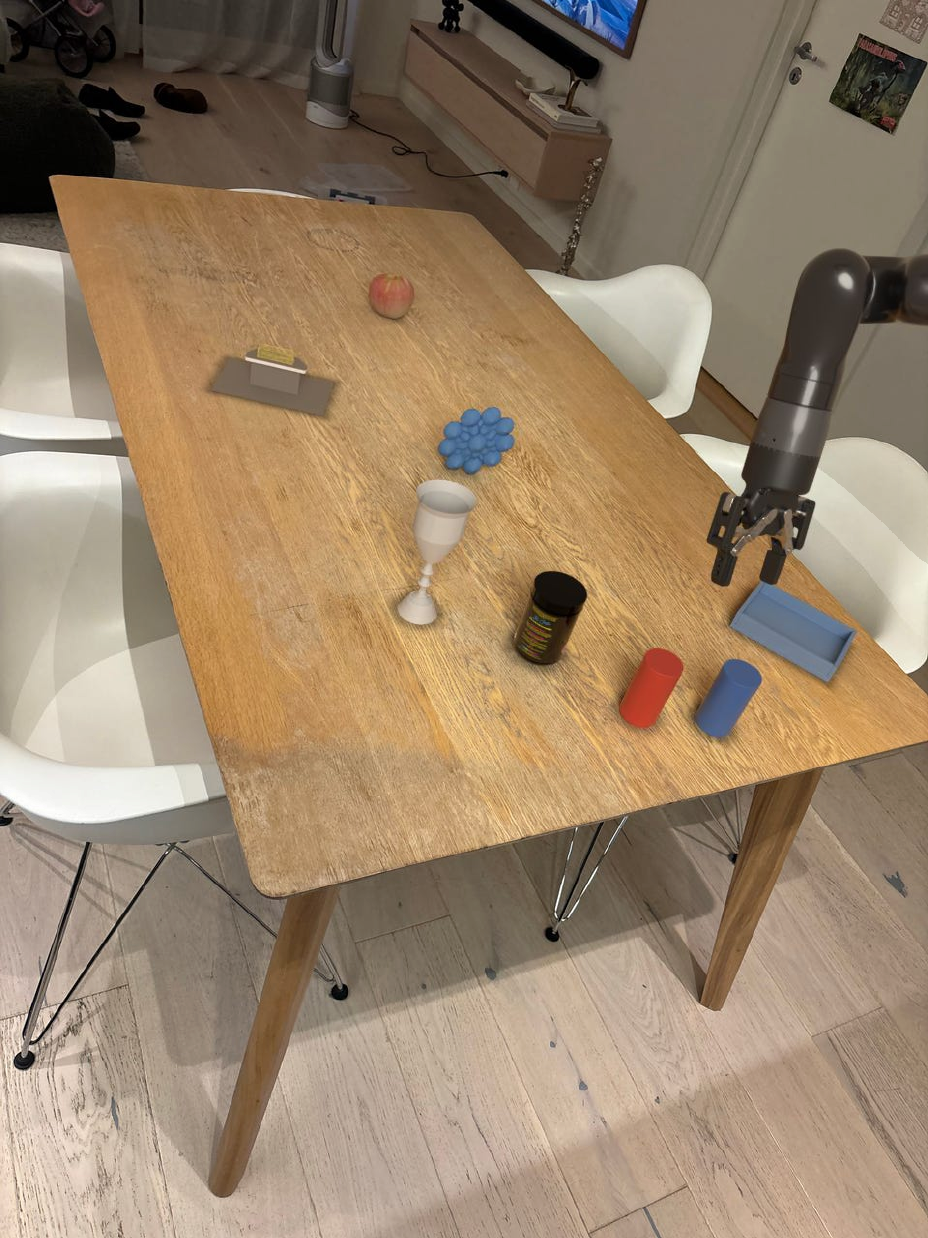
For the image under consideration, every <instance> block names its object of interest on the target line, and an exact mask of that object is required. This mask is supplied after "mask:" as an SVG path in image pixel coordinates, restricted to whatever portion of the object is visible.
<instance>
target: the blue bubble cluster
mask: <svg viewBox="0 0 928 1238" xmlns="http://www.w3.org/2000/svg"><path fill="white" fill-rule="evenodd" d="M514 429H515V421H514V420H513V418H511V417H509V416H504V417H502V412H501V410H500V409H499V408H498V407H497V406H490V407H487V408H486V409H484V410H483V412H482V413H481V412H480V410H479V409H477V408H468V409H466V410H464V411H463V412H462V414H461V415H460V421H458V420H453V421H450V422H448V423H447V424H446V425H445V426H444V427H443V429H442V430H443V431H442V433H443V436H444V437H445V438H444V439H443V440H441V441H440V442H439V443H438V444H437V453H438V454H439V456H441V457H445V462H444V464H445V467H446V468H447V469H448V470H450V471H456V470H459V469H460V468H462V470H463V471H464V473H465V474H468V475H474V474H476V473H478V472H479V471H481V469H482V468H483V466H485V467H486V468H494V467H496V466H497V465H499V464H500V463H501V461H502V459H503V454H502V453H506V452H509V451H510V450H511V449H512V448H513V447H514V446H515V438H514V436H513V434H511V433H512V432H513V430H514Z"/></svg>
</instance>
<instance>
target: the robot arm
mask: <svg viewBox="0 0 928 1238" xmlns="http://www.w3.org/2000/svg"><path fill="white" fill-rule="evenodd" d="M886 324H887V325H889V324H897V325H904V326H909V327H917V328H928V252H924V253H917V254H914V255H910V256H889V255H888V256H887V255H886V256H885V255H884V256H883V255H862V254H860V253H858V252H857V251H855V250H853V249H849V248H845V247H835V248H830V249H826V250H825V251H824V250H823V251H822V252H820V253H819V254H817V255H816V256H813V258H812V259H811V260H809V262H808V263H807V264H806V265H805V267H804V268H803V270H802V272H801V274H800V276H799V279H798V282H797V284H796V288H795V292H794V296H793V299H792V303H791V308H790V312H789V316H788V321H787V326H786V331H785V335H784V336H785V337H784V342H783V347H782V349H781V351H780V353H779V354H780V355H779V357H778V359H777V362H776V365H775V368H774V371H773V373H772V377H771V381H770V384H769V388H768V391H767V394H766V397H765V400H764V402H763V404H762V407H761V410H760V412H759V414H758V417H757V419H756V423H755V426H754V429H753V433H752V436H751V440H750V443H749V446H748V450H747V454H746V457H745V460H744V464H743V466H742V471H741V473H740V477H741V479H742V480H743V481H744V483H745V488H744V490H743V492H742V493H741V494H740V495H736V494H734V493H731V492H729V491H723V492H722V494H721V495H720V498H719V501H718V504H717V506H716V509H715V513H714V516H713V519H712V521H711V524H710V528H709V531H708V533H707V537H706V543H707V544H708V545H710V546H713V547H714V548H715V549H716V555H715V559H714V563H713V565H712V569H711V572H710V581H711V583H713V584H715V585H717V586H719V587H722V588H727V587H729V586H730V584H731V582H732V579H733V575H734V572H735V569H736V566H737V565H736V564H737V561H738V559H739V556H738V555H739V553H740V552H741V551H742V550H743V549H744V548H745V546H746V545H747V544H749V543H753V542H754V541H755V540H756V538H757V537H763V536H767V540H768V544H769V545H768V546H769V548H770V549H767V550H766V553H765V555H764V560H763V562H762V565H761V569H760V572H759V574H758V575H759V576H758V578H759V580H760V582H761V581H763V582H765V583H767V584H769V585H774V586H776V585H777V584H778V583H779V579H780V577H781V575H782V571H783V568H784V566H785V562H786V560H787V557H788V556H790V555H791V554H792V553H793V551H794V550H797V551H801V550H802V549H803V548H804V546H805V542H806V539H807V536H808V532H809V529H810V525H811V522H812V519H813V515H814V511H815V508H816V501H815V500H812V499H810V498H807V497H804V496H806V495H808V494H809V493H810V491H811V488H812V486H813V482H814V479H815V476H816V473H817V470H818V466H819V463H820V460H821V457H822V455H823V451H824V448H825V445H826V442H827V439H828V436H829V432H830V427H831V423H832V416H833V413H834V412H833V411H834V410H835V406H836V403H837V401H838V397H839V395H840V391H841V388H842V384H843V380H844V377H845V373H846V367H847V358H848V355H849V352H850V351H851V350H850V349H851V347H852V344H853V341H854V339H855V336H856V333H857V330H858V328H859V325H886ZM740 525H741V526H742V527H741V526H740ZM722 527H724V531H723V533H722V534H721V536H720V532H721V530H722ZM795 528H796V529H797V534H796V537H795V536H794V535H795V532H794V529H795ZM734 538H736V540H734V542H733V539H734Z"/></svg>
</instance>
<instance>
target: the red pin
mask: <svg viewBox="0 0 928 1238" xmlns="http://www.w3.org/2000/svg"><path fill="white" fill-rule="evenodd" d="M637 667H638V668H637V669H636V671H635V673H634V675H633V677H632V679H631V682H630V683H629V685H628V687H627V689H626V691H625V694H624V695H623V697H622V699H621V702H620V704H619V707H618V708H619V713H620V715H621V717H622V718H623V719H624V720H625V721H626V722H627V723H629V724H630V725H632V726H634V727H637V728H642V729H647V728H650V727H653V726H654V725H655V724H656V723H657V721H658V719H659V717H660V715H661V713H662V711H663V710H664V707H665V706H666V704H667V702H668V700H669V699H670V696H671V695H672V693H673V691H674V689H675V688H676V685H677V684H678V682H679V680H680V678H681V676H682V674H683V672H684V670H685V669H684V663H683V661H682V659H681V658H680V657H679V656H677V655H676V654H675V653H674V652H672V651H670V650H668V649H666V648H661V647H652V648H649V649H647V650H646V651H645V652H644V655H643V656H642V659H641V661H640V663H639V665H638V666H637Z"/></svg>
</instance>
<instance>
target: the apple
mask: <svg viewBox="0 0 928 1238" xmlns="http://www.w3.org/2000/svg"><path fill="white" fill-rule="evenodd" d="M414 299H415V289H414V285H413V284H412V282H411V280H410V279H409V278H408V277H406V276H404V275H402V274H400V273H399V274H398V273H394V272H385V273H380V274H378V275H376V276H375V277H374V278H372V280H371V282H370V284H369V287H368V300H369V303H370V306H371V308H372V309H373V310H374V311H375V312H376V313H377V314H378V315H380V316H382V317H385V318H388V319H392V320H398V319H400V318H403V317H404V316H405V315H407V313H408V312H409V311H410V309H411V307H412V305H413V303H414Z"/></svg>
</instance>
